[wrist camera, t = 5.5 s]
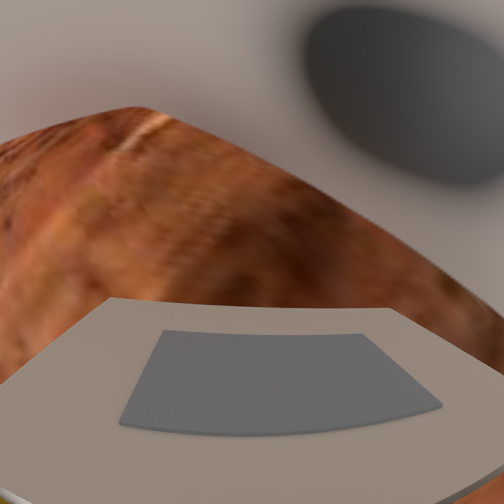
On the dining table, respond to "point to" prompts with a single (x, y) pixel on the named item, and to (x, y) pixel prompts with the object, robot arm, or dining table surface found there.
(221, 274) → the dining table surface
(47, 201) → the dining table surface
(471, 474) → the carton flap
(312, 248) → the dining table surface
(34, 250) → the dining table surface
